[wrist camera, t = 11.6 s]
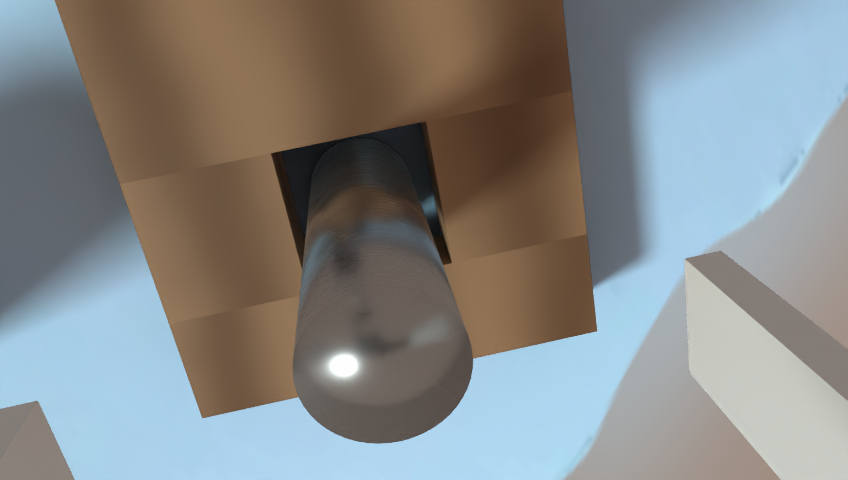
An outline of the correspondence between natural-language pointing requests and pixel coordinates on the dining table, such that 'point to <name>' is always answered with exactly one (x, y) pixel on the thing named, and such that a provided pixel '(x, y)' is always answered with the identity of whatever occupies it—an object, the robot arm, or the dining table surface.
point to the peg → (375, 303)
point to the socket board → (326, 121)
